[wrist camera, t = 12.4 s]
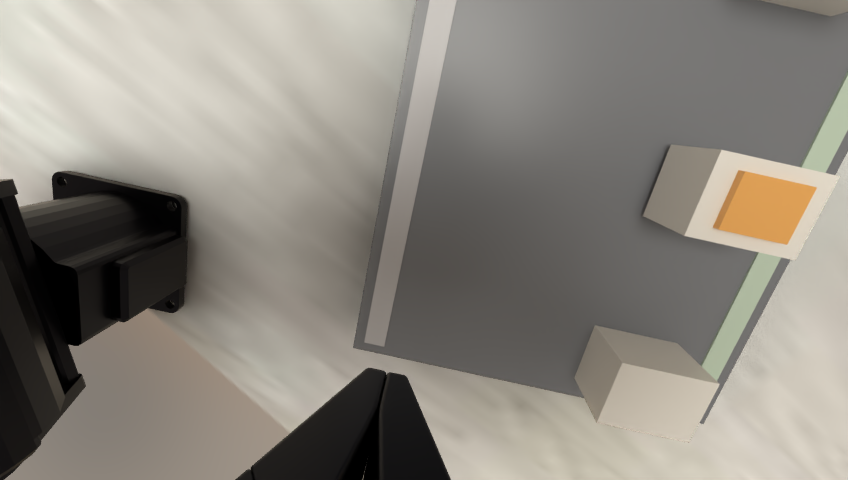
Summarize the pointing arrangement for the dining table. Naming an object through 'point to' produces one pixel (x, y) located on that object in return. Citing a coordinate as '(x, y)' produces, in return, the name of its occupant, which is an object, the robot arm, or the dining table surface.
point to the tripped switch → (738, 200)
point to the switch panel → (590, 191)
